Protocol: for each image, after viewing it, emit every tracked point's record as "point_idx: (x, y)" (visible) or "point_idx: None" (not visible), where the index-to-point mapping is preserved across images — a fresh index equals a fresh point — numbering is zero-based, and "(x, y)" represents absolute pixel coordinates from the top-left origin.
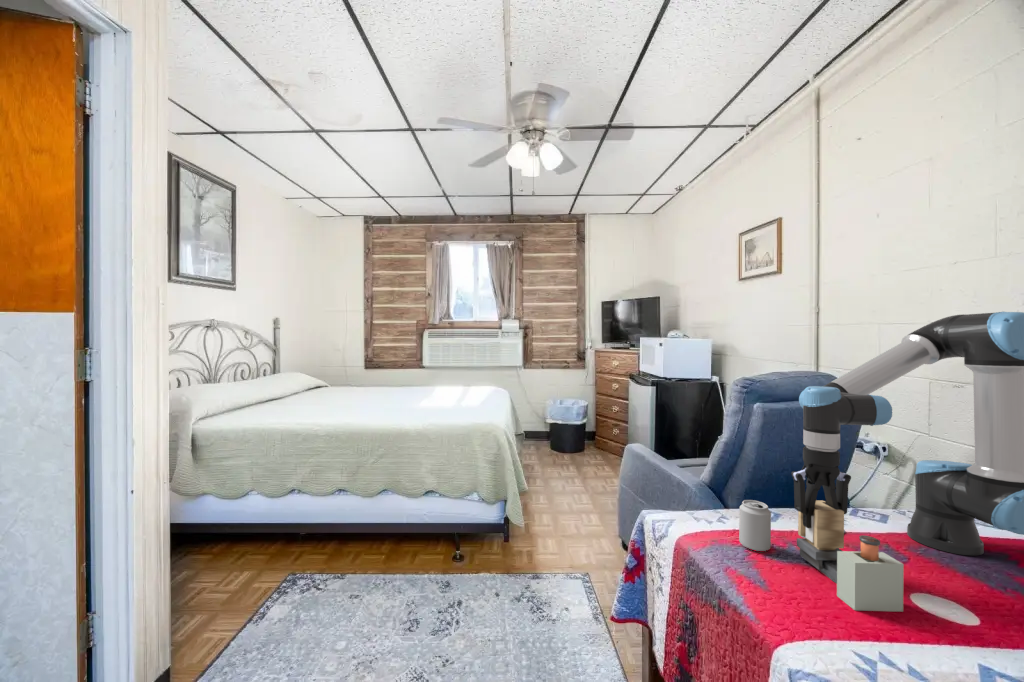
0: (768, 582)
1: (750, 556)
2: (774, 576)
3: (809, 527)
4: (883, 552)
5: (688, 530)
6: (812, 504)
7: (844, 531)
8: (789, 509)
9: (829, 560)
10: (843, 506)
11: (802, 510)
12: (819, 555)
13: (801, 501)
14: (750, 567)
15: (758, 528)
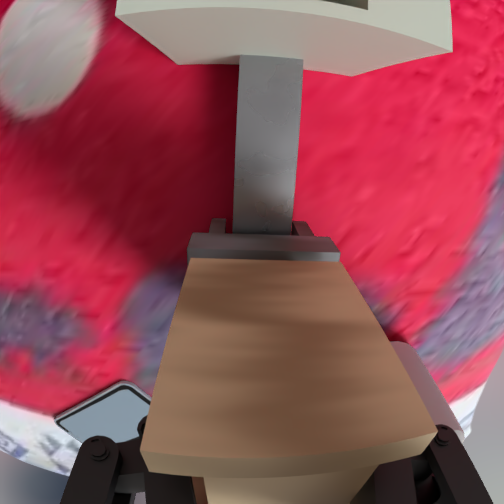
0: (489, 177)
1: (432, 315)
2: (456, 206)
3: None
4: (116, 10)
5: (454, 407)
6: (398, 499)
7: (56, 418)
8: None
9: None
10: (99, 492)
11: (451, 437)
12: (318, 244)
13: (479, 489)
14: (476, 256)
15: (431, 391)
